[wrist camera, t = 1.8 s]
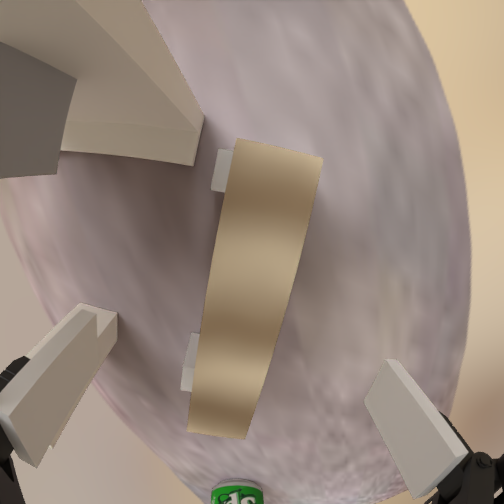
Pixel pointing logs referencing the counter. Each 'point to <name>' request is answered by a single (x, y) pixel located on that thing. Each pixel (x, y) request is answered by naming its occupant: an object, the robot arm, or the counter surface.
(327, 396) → the counter surface
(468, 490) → the robot arm
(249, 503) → the soda can
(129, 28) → the white shelf
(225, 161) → the stand
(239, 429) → the rail
